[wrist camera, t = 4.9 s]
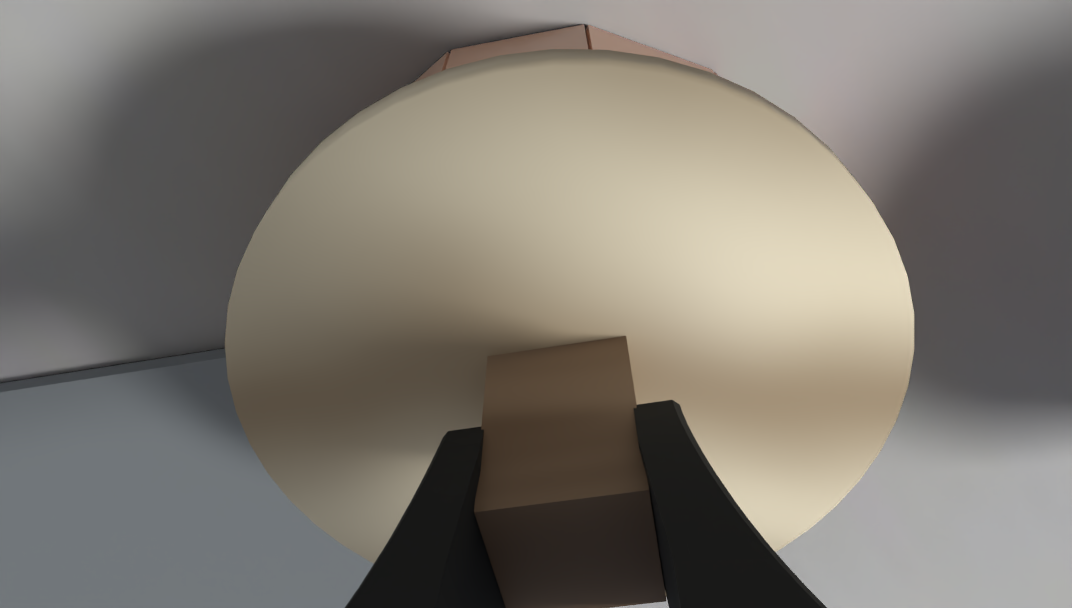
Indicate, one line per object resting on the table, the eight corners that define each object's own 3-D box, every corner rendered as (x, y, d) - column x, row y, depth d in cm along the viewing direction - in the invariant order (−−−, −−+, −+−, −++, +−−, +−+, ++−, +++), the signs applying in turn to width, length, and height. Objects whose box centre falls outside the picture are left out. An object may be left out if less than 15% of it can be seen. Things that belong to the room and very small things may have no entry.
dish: (790, 395, 21) (832, 500, 18) (406, 448, 22) (385, 556, 19) (781, -14, 15) (838, 40, 12) (270, 84, 16) (210, 154, 13)
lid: (881, 543, 18) (966, 739, 14) (355, 605, 19) (313, 799, 16) (921, -24, 11) (1095, 77, 8) (120, 126, 13) (-46, 272, 9)
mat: (413, 638, 26) (412, 649, 26) (67, 677, 28) (61, 688, 27) (280, 339, 20) (276, 349, 19) (-165, 409, 21) (-176, 419, 21)
